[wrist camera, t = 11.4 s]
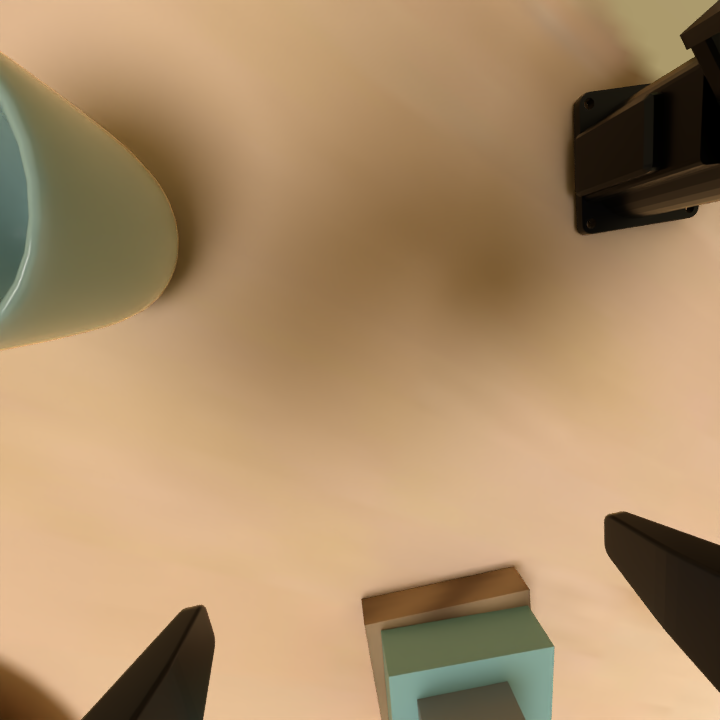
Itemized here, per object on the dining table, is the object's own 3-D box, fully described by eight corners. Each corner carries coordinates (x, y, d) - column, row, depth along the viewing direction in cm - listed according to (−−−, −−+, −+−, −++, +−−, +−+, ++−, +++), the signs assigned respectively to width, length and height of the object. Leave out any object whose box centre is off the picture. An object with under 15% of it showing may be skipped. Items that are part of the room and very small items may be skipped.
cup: (212, 173, 16) (52, 9, 7) (192, 336, 18) (37, 396, 8) (27, 128, 15) (-484, -146, 6) (22, 305, 17) (-397, 331, 7)
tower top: (527, 605, 21) (554, 646, 19) (525, 718, 23) (549, 768, 21) (380, 630, 21) (388, 676, 18) (390, 744, 22) (399, 800, 20)
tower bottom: (508, 558, 24) (529, 589, 21) (515, 674, 26) (535, 715, 23) (360, 589, 23) (364, 625, 20) (380, 705, 25) (387, 750, 23)
